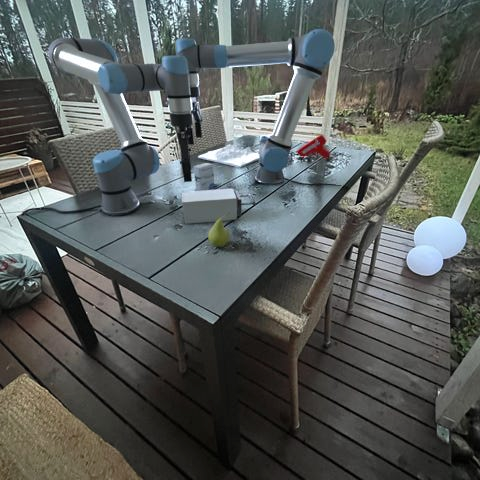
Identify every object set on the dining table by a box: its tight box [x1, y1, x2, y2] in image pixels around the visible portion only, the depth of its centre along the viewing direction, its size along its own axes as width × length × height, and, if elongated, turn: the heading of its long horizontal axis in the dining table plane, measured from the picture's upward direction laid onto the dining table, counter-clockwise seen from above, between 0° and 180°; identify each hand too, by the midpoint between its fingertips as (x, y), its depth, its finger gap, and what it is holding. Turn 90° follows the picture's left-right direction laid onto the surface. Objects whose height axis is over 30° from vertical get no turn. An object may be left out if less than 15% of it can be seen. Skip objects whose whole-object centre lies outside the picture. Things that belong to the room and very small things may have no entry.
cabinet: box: [181, 187, 238, 225], centre depth 109 cm, size 20×10×9 cm, turn 100°
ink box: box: [193, 162, 215, 191], centre depth 132 cm, size 8×5×12 cm, turn 135°
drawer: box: [234, 190, 256, 217], centre depth 109 cm, size 25×9×7 cm, turn 100°
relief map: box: [197, 143, 259, 168], centre depth 180 cm, size 27×35×5 cm
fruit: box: [207, 212, 230, 248], centre depth 89 cm, size 7×8×12 cm
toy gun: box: [296, 133, 331, 161], centre depth 176 cm, size 18×4×15 cm
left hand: (187, 175), depth 101 cm, fingers open, 13 cm apart
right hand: (195, 140), depth 121 cm, fingers open, 13 cm apart
